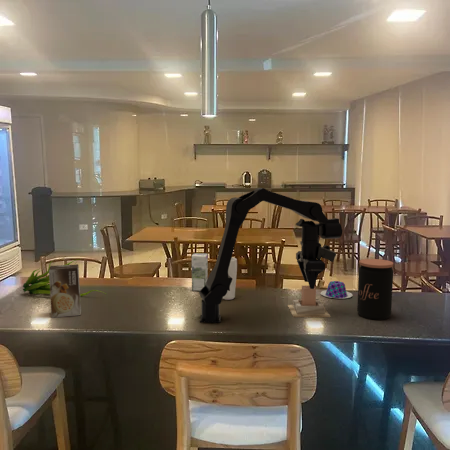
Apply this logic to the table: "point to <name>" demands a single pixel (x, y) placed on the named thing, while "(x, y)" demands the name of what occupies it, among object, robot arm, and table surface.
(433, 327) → the table surface
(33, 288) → the decorative plant
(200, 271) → the syrup box
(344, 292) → the pudding
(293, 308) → the post socket
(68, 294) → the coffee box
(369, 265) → the coffee jar
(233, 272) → the white tumbler
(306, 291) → the bracket block
